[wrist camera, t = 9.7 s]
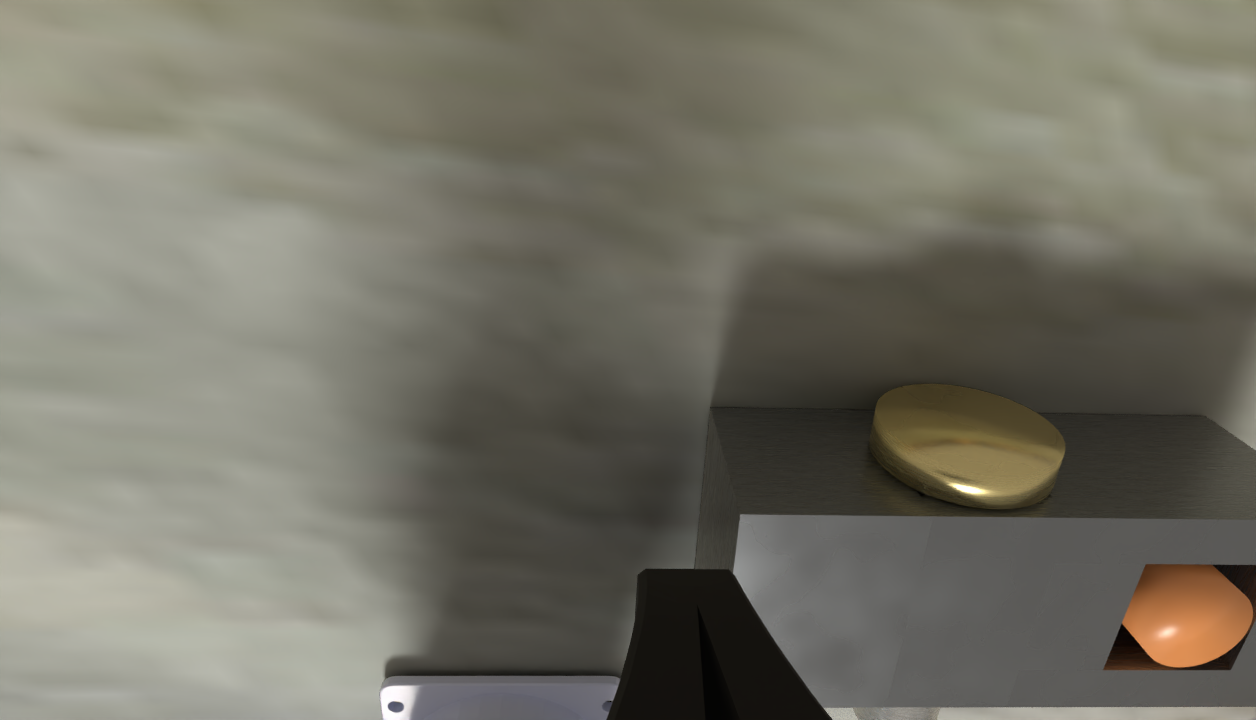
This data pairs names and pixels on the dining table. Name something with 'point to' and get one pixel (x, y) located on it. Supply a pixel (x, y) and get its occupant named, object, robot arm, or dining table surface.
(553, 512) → the dining table surface
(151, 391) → the dining table surface
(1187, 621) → the lock button
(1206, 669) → the bracket
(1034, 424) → the gold headed rod
